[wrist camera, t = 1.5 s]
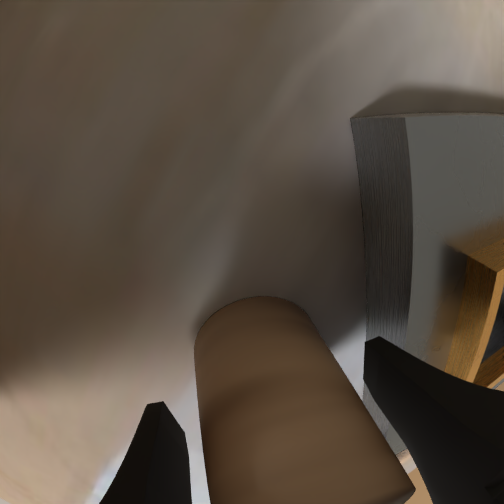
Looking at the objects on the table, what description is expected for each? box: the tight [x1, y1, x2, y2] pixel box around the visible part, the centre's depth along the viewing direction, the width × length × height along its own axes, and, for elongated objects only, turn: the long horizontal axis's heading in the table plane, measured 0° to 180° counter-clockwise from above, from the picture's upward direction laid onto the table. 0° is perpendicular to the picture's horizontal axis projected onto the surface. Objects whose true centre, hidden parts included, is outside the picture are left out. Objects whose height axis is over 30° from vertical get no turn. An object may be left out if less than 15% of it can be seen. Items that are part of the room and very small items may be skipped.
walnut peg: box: [194, 296, 416, 504], centre depth 8 cm, size 5×5×8 cm
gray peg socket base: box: [350, 112, 504, 455], centre depth 11 cm, size 18×14×4 cm
